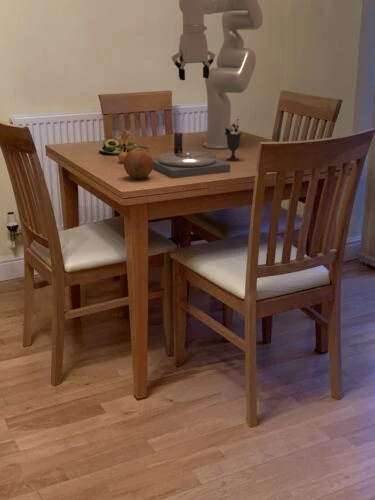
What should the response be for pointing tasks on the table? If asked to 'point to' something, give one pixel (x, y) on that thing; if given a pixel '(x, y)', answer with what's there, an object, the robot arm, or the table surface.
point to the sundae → (233, 140)
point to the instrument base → (190, 169)
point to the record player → (185, 156)
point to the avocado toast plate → (117, 147)
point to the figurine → (125, 136)
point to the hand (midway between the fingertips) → (194, 79)
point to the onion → (138, 163)
